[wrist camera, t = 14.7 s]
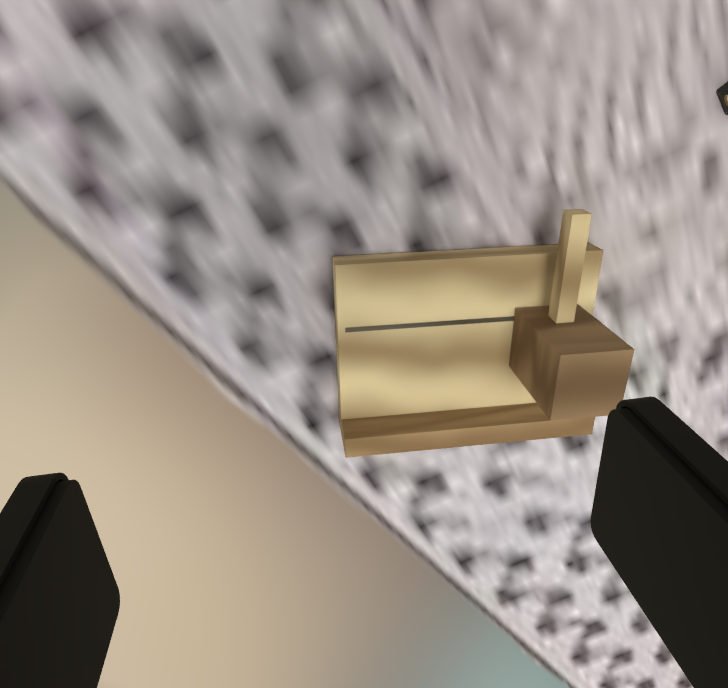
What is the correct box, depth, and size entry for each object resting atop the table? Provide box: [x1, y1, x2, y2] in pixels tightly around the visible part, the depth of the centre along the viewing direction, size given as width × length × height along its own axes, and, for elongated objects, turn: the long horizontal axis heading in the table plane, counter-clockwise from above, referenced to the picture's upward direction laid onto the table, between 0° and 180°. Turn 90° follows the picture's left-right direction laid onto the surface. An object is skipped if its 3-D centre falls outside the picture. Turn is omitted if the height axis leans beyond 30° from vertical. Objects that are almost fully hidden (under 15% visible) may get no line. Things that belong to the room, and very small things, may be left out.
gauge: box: [509, 209, 634, 421], centre depth 35 cm, size 12×4×7 cm, turn 2°
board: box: [333, 243, 603, 457], centre depth 39 cm, size 13×18×4 cm
